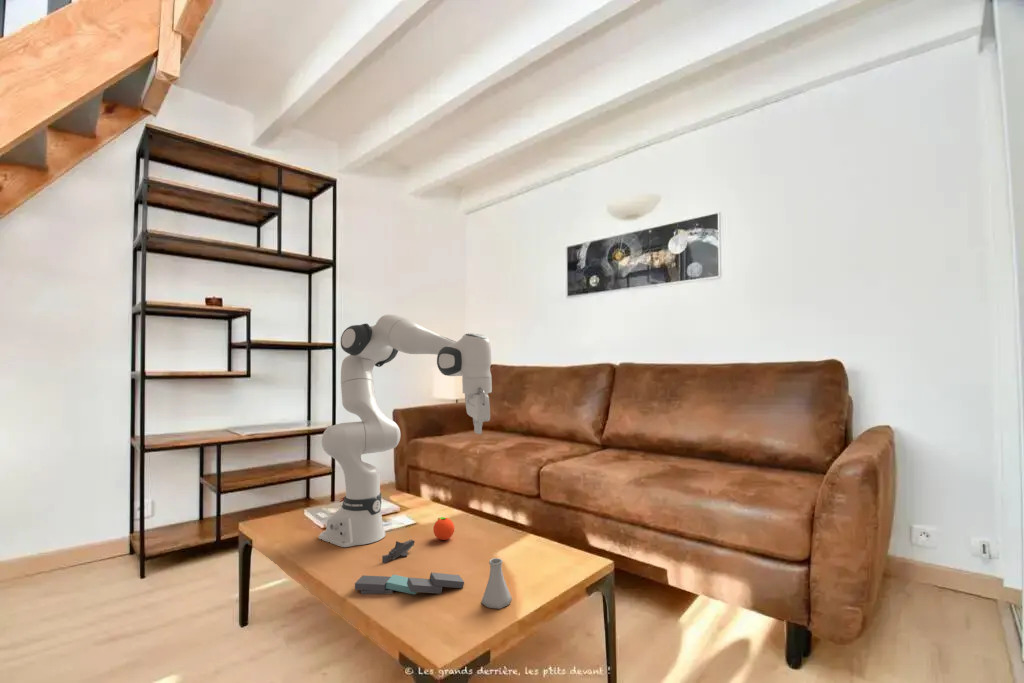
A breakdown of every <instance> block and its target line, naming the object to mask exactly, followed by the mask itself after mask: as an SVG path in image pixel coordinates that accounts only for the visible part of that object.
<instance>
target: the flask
mask: <svg viewBox="0 0 1024 683" xmlns="http://www.w3.org/2000/svg"><path fill="white" fill-rule="evenodd" d="M502 563H503V559H501V558H499V557H498V558H496V557H493V558H490V559H489V560H488V564H489V565H490V569H489V570H490V571H489V576H488V580H487V583H486V587H485V590H484V593H483V596H482V599H481V602H480V604H482V605H483V606H485V607H487V608H489V609H502V608H504V607H507V606H509V605H510V603H511V601H512V599H513V598H512V596H511V593H510V590H509V588H508V585H507V582H506V580H505V577H504V573H503V569H502V567H503V565H502Z"/></svg>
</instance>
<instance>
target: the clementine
mask: <svg viewBox="0 0 1024 683" xmlns="http://www.w3.org/2000/svg"><path fill="white" fill-rule="evenodd" d="M432 528H433V534H434V536H435V538H436V539H438V540H440V541H447V540H449V539H450V538H451V537H452V536H453V535H454V533H455V524H454V522H453V521H452V519H450V518H448V517H445V516H444V517H443V516H441V517H438V518H437V520H436V522H435V523H434V524H433V527H432Z"/></svg>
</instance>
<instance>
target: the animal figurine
mask: <svg viewBox="0 0 1024 683" xmlns="http://www.w3.org/2000/svg"><path fill="white" fill-rule="evenodd" d="M415 541H416V540H413V539H409V540H406V541H404V542H399V541H395V545H394V547H392V548H391V550H390V551H388V554H384V555H382V556H381V557H382V564H386V563H388V562H390V561H391V560H395V559H398V558H400V557H402V558H403V557H405V558H407V557H408V552H409V550H411V549H412V548H413V547H414V546H415V543H416V542H415Z"/></svg>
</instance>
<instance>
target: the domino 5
mask: <svg viewBox="0 0 1024 683" xmlns="http://www.w3.org/2000/svg"><path fill="white" fill-rule="evenodd" d="M428 579H430V580H431V582H432V584H433V585H434V586H442V587H445V588H455V589H464V585H465V580H464V579H463V578H462V577H461V576H460V574H452V573H450V574H449V573H443V572H430V574H429V577H428Z"/></svg>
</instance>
